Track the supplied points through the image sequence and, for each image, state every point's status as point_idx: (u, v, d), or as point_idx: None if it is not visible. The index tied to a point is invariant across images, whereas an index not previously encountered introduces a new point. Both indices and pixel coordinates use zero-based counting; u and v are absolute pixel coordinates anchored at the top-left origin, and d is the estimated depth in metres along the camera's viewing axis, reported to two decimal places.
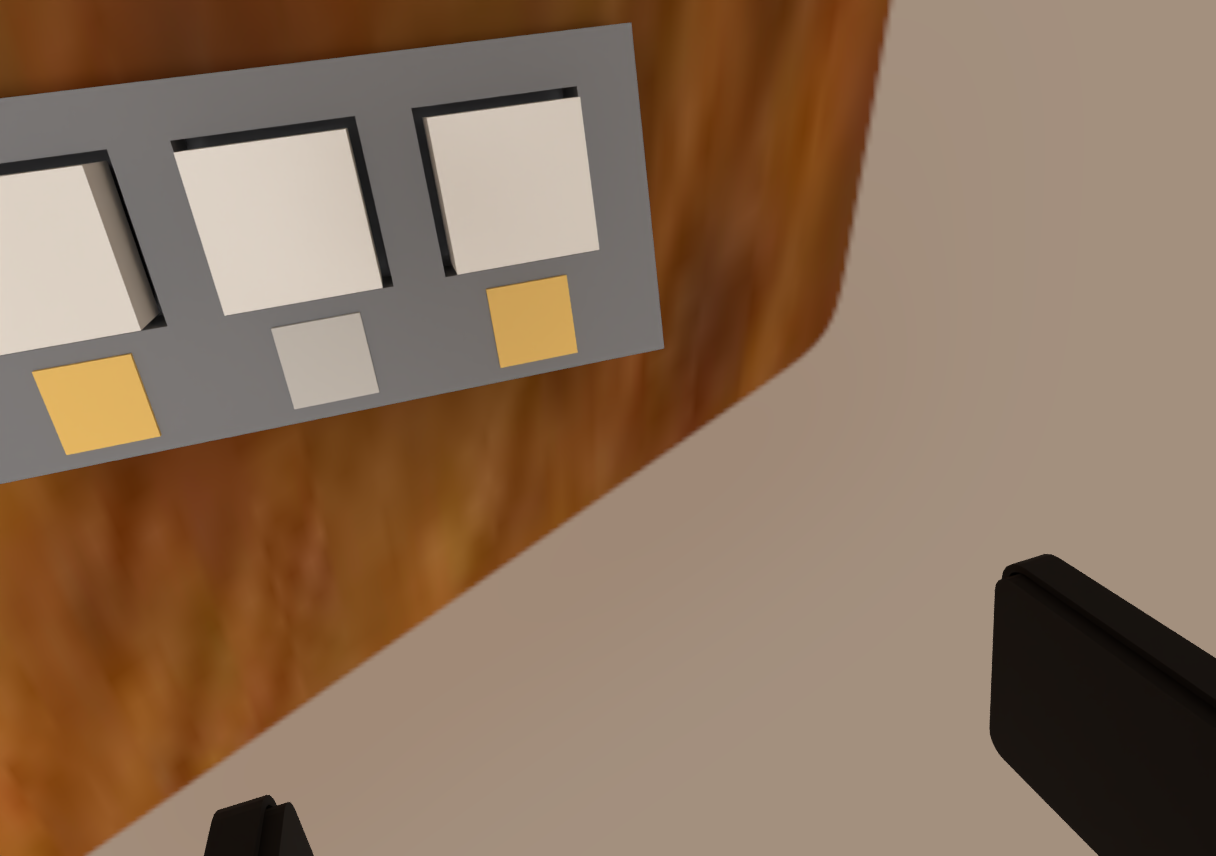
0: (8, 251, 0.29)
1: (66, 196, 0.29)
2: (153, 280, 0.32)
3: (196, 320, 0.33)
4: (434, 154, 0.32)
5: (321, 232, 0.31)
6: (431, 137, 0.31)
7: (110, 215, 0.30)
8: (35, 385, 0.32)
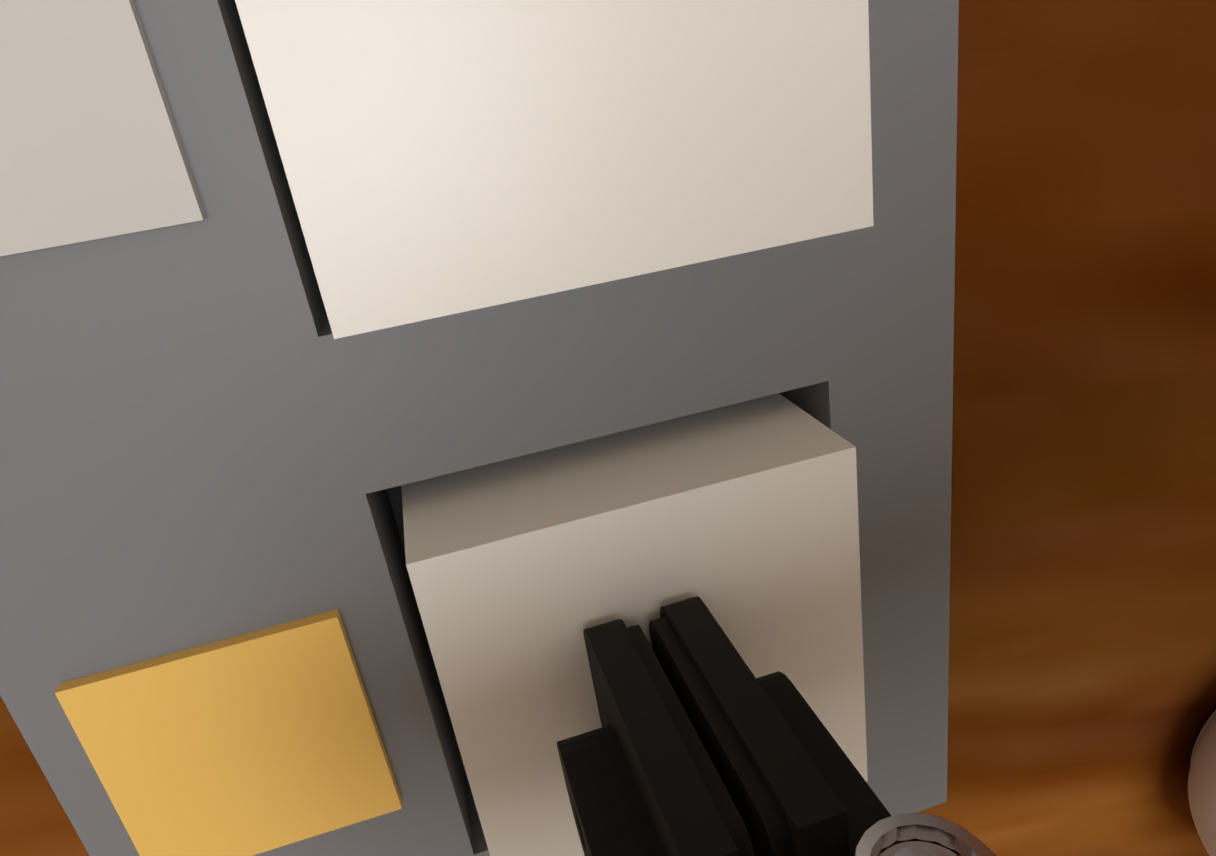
0: None
1: None
2: None
3: None
4: (760, 470, 0.11)
5: (545, 110, 0.08)
6: (806, 461, 0.11)
7: None
8: None
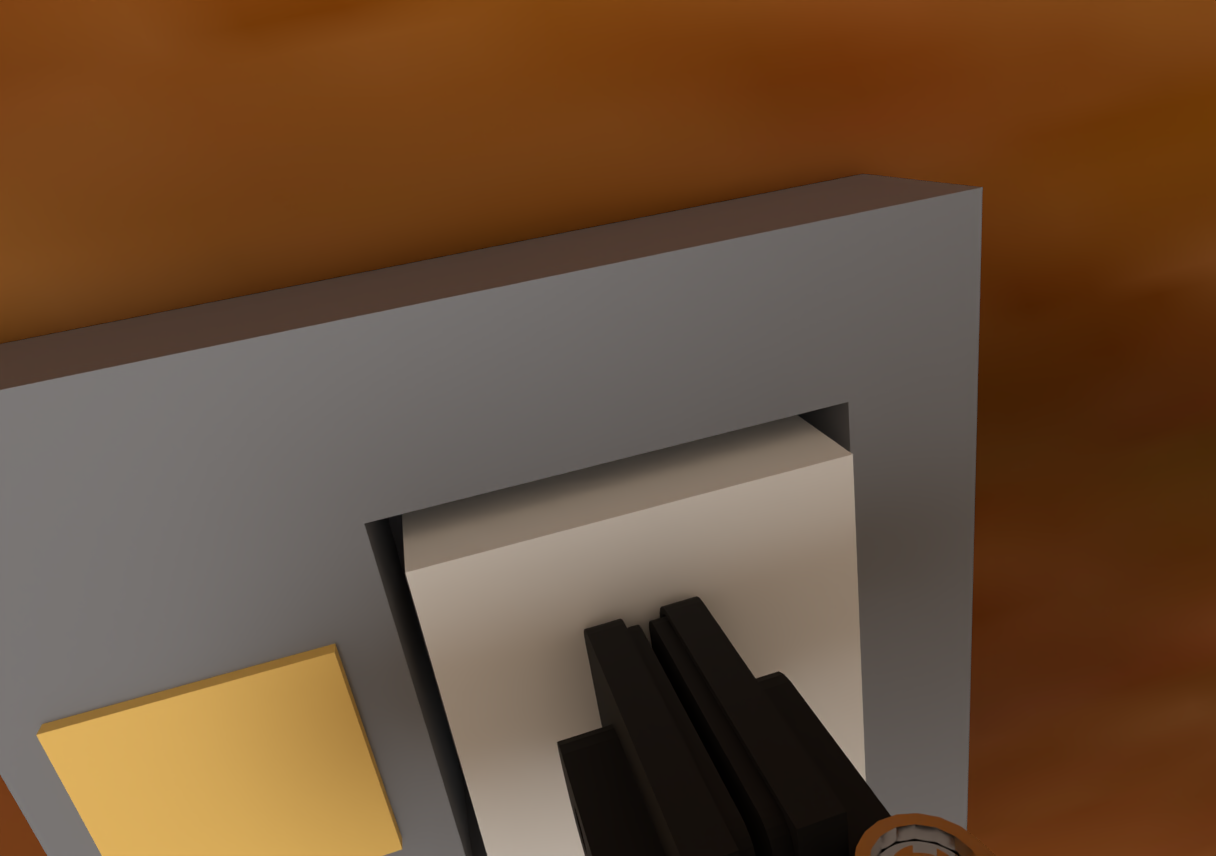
0: None
1: None
2: None
3: None
4: None
5: None
6: None
7: None
8: (285, 647, 0.11)
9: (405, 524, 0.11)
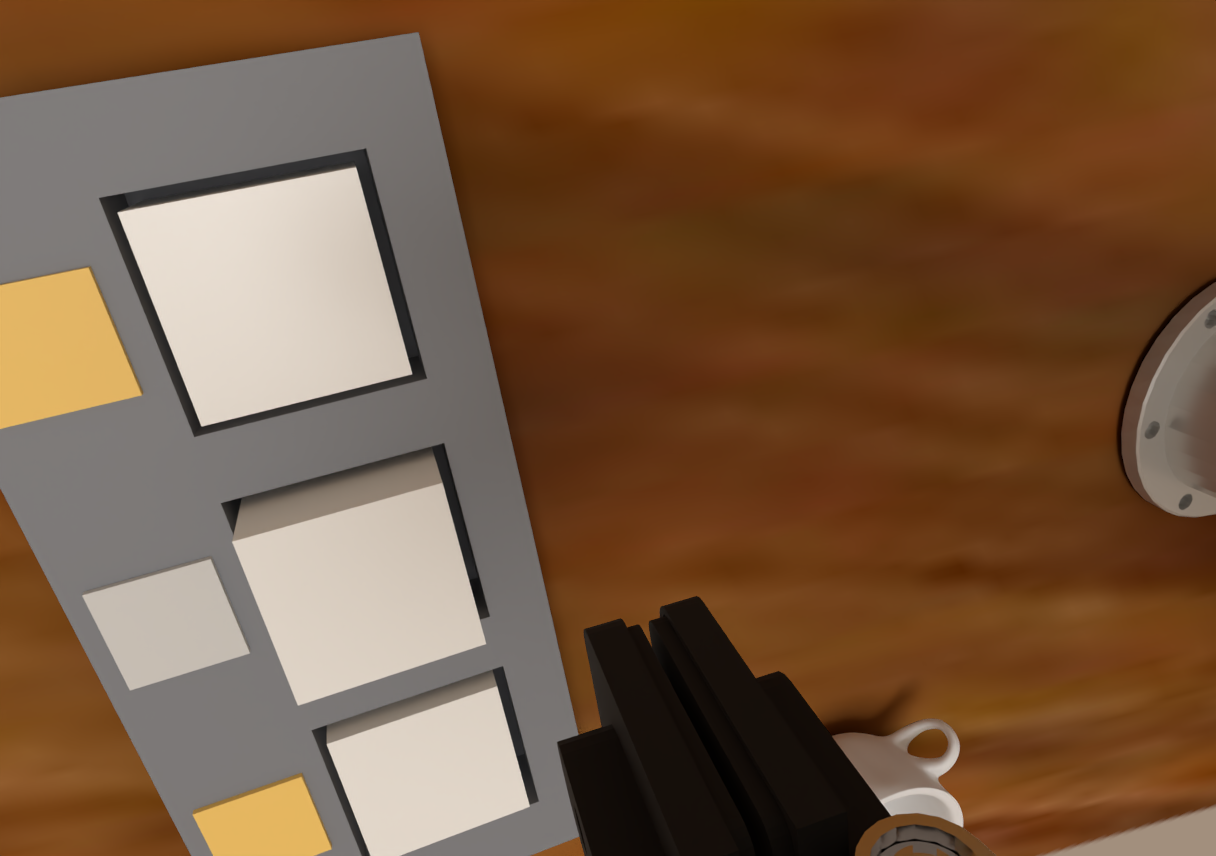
0: (294, 287, 0.23)
1: (373, 355, 0.24)
2: (261, 422, 0.24)
3: (207, 467, 0.24)
4: (460, 697, 0.29)
5: (363, 634, 0.25)
6: (477, 693, 0.29)
7: None
8: (63, 266, 0.21)
9: (129, 207, 0.22)
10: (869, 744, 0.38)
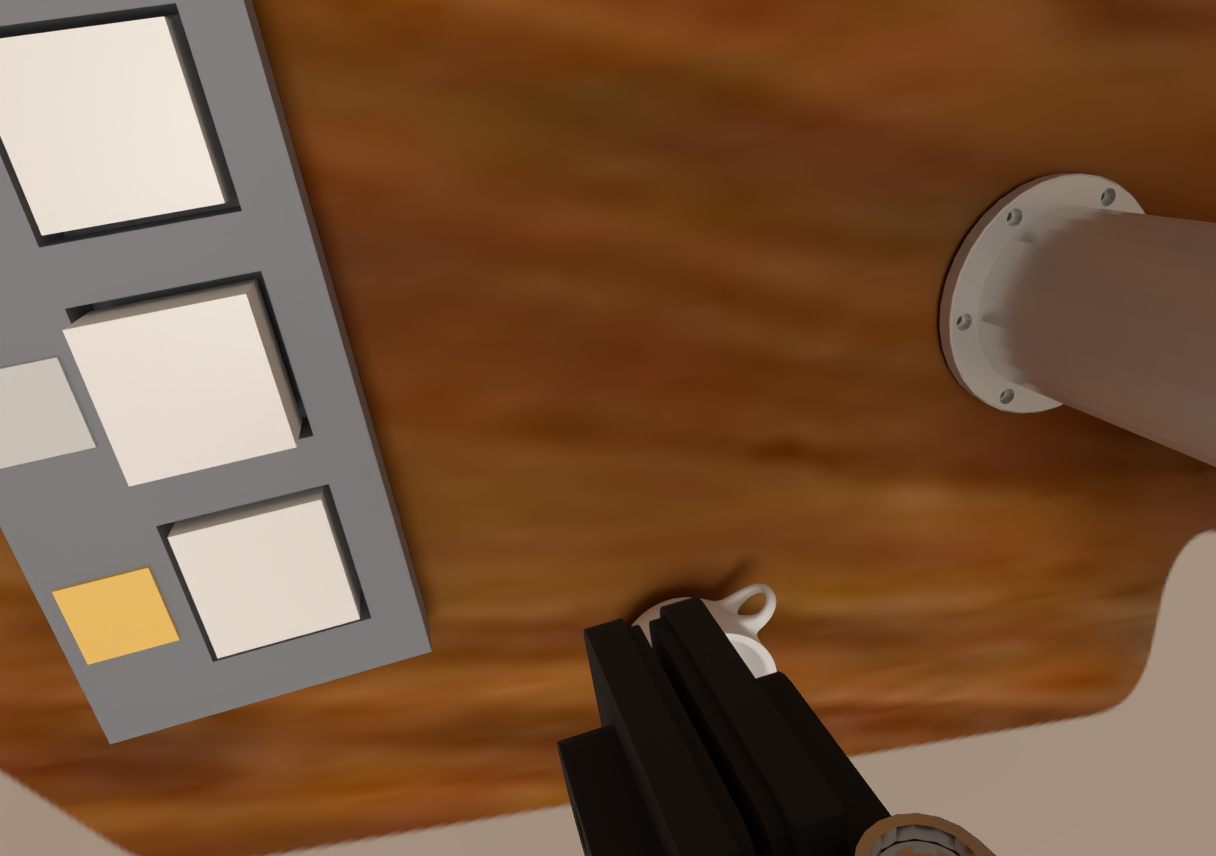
0: (115, 118, 0.27)
1: (189, 183, 0.29)
2: (96, 239, 0.29)
3: (52, 276, 0.29)
4: (288, 507, 0.34)
5: (183, 426, 0.30)
6: (303, 504, 0.34)
7: None
8: None
9: None
10: None
